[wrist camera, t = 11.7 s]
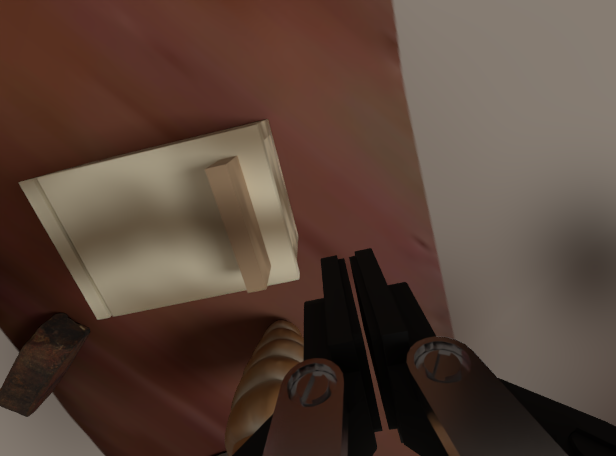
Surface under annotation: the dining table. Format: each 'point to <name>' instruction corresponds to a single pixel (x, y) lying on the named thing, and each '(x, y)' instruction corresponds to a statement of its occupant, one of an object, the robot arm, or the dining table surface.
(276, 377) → the cat ice cream
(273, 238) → the lid
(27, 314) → the dining table surface
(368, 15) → the dining table surface
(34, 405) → the brick
